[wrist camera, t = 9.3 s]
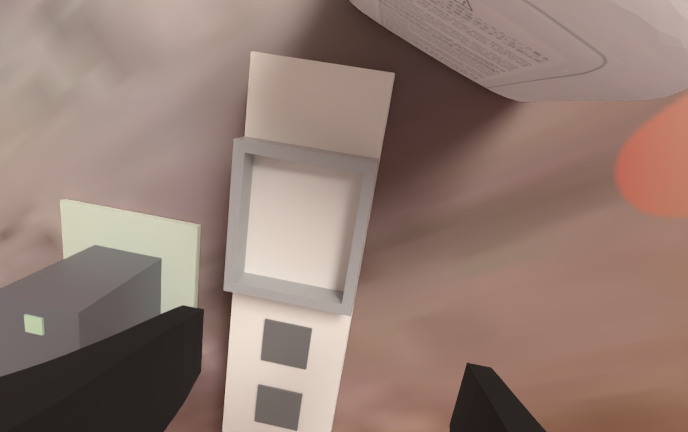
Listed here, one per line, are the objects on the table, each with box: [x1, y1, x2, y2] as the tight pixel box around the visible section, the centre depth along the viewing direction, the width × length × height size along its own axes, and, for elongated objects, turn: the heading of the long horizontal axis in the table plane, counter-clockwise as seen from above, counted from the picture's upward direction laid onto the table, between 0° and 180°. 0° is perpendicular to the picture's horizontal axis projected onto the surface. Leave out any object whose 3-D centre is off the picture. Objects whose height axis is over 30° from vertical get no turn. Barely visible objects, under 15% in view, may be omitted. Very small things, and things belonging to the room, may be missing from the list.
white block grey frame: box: [222, 51, 395, 432], centre depth 20 cm, size 22×6×4 cm, turn 171°
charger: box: [0, 245, 162, 377], centre depth 20 cm, size 5×4×6 cm
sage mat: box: [60, 199, 201, 314], centre depth 23 cm, size 10×8×1 cm
